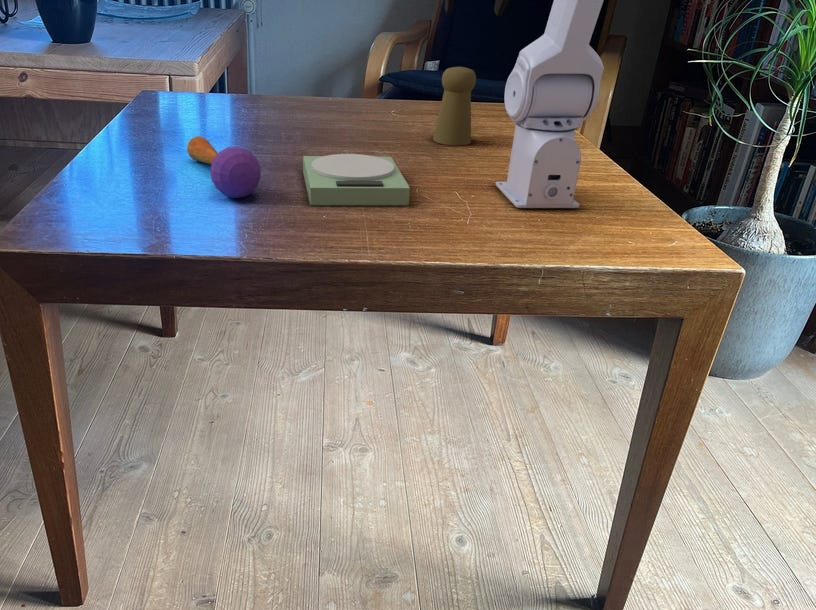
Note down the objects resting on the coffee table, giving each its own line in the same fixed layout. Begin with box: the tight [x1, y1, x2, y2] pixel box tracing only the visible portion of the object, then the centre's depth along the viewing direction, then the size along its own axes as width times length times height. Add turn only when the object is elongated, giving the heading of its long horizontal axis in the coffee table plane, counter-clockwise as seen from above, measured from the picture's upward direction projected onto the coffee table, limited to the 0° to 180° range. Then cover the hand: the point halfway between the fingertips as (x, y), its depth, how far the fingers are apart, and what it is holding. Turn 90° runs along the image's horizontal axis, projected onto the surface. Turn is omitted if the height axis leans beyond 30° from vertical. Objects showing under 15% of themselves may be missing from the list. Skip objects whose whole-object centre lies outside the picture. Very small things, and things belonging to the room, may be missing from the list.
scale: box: [302, 153, 411, 206], centre depth 94 cm, size 14×12×3 cm
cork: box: [432, 66, 477, 146], centre depth 115 cm, size 6×6×11 cm
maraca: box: [186, 136, 262, 199], centre depth 94 cm, size 6×6×20 cm
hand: (472, 11), depth 110 cm, fingers open, 7 cm apart
